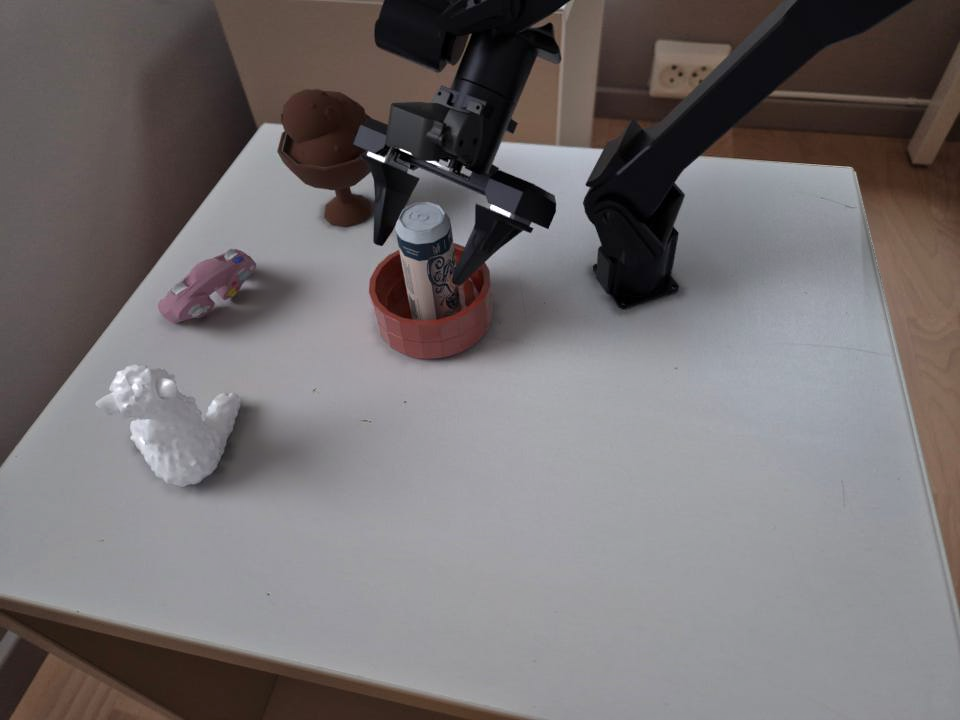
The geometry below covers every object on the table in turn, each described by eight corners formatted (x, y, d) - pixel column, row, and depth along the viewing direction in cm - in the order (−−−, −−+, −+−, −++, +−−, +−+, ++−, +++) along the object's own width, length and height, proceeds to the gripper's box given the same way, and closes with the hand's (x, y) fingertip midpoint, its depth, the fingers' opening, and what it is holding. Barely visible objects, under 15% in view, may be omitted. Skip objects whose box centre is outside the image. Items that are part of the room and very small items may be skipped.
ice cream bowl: (376, 248, 80) (349, 123, 69) (283, 234, 83) (242, 112, 71) (409, 189, 87) (390, 66, 75) (322, 178, 89) (290, 57, 78)
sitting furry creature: (243, 399, 68) (196, 305, 59) (256, 475, 62) (207, 385, 53) (136, 430, 66) (71, 339, 57) (139, 512, 61) (68, 425, 52)
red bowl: (470, 267, 77) (466, 229, 74) (509, 340, 70) (508, 303, 67) (365, 297, 75) (356, 260, 72) (395, 376, 68) (387, 339, 65)
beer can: (455, 335, 71) (442, 236, 61) (406, 330, 71) (387, 231, 62) (465, 299, 74) (455, 200, 64) (419, 295, 74) (402, 196, 65)
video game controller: (185, 344, 75) (180, 314, 68) (154, 312, 75) (146, 280, 69) (262, 289, 79) (265, 257, 73) (233, 259, 80) (233, 224, 73)
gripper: (346, 27, 60) (279, 209, 63) (536, 91, 52) (450, 297, 55) (421, 76, 70) (361, 232, 73) (591, 137, 62) (516, 309, 65)
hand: (415, 264), depth 66 cm, fingers open, 9 cm apart
